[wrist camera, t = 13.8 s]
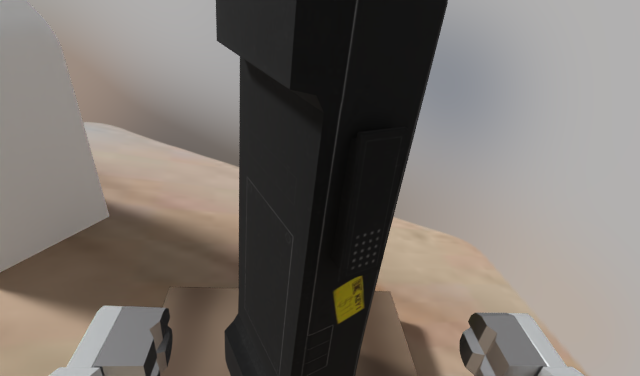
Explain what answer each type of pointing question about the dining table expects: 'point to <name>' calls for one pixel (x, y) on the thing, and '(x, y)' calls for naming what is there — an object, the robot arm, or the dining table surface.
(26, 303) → the dining table surface
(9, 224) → the milk
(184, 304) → the walnut plinth
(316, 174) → the portable radio
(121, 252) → the dining table surface
